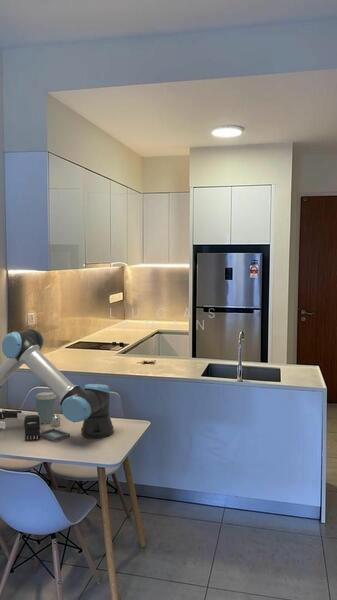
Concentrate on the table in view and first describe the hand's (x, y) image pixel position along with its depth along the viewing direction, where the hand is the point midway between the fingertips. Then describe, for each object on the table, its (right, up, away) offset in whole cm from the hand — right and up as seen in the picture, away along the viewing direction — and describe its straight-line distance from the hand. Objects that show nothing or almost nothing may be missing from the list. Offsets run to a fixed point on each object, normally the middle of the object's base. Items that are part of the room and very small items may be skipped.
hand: (16, 421), depth 223 cm
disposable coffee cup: (+8, -6, +22) cm, 24 cm away
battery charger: (+9, -7, -5) cm, 13 cm away
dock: (+17, -7, 0) cm, 19 cm away
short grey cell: (+15, -6, +15) cm, 22 cm away
